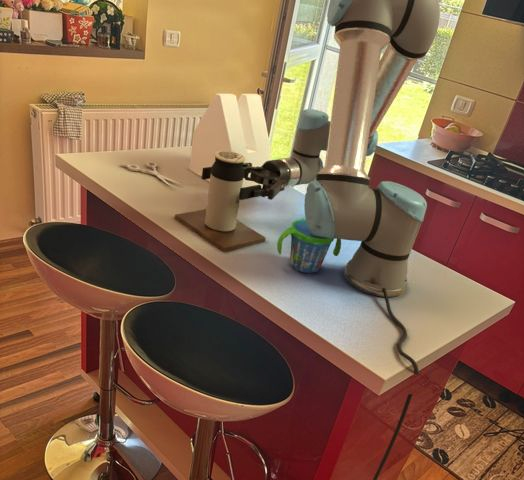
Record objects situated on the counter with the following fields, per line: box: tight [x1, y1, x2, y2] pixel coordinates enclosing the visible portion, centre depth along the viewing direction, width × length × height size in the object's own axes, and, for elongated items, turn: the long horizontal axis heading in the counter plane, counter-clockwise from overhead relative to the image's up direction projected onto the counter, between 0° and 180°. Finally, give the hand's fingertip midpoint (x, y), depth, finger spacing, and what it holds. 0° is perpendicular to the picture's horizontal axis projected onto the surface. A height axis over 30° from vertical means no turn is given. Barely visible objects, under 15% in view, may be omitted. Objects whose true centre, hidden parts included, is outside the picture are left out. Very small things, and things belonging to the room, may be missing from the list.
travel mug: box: [205, 151, 245, 231], centre depth 135 cm, size 8×8×18 cm
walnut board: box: [174, 208, 266, 253], centre depth 141 cm, size 20×14×1 cm
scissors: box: [120, 161, 180, 187], centre depth 163 cm, size 11×1×20 cm
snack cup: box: [276, 218, 342, 274], centre depth 130 cm, size 16×10×10 cm
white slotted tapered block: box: [189, 93, 272, 188], centre depth 166 cm, size 19×15×25 cm
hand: (221, 183), depth 132 cm, fingers open, 13 cm apart
